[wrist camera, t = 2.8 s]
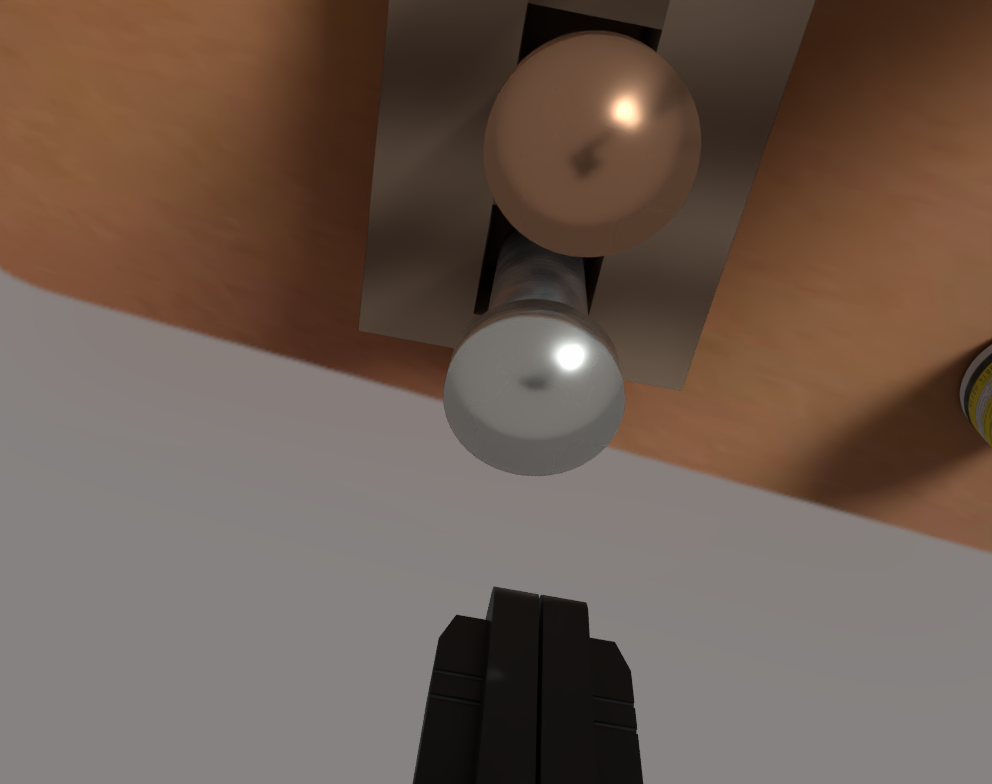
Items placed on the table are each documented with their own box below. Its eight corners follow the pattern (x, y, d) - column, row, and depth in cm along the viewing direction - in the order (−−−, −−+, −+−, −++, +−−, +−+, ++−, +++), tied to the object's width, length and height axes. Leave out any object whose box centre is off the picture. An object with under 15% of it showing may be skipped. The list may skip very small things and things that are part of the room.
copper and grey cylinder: (523, -9, 23) (503, 14, 14) (665, 20, 23) (731, 59, 15) (498, 138, 25) (468, 236, 17) (627, 163, 26) (666, 274, 17)
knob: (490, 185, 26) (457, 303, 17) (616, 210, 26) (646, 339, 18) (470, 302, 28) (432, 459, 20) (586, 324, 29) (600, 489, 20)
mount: (452, -303, 24) (423, -376, 18) (832, -223, 24) (909, -273, 19) (389, 271, 33) (358, 330, 28) (661, 322, 33) (681, 390, 28)
